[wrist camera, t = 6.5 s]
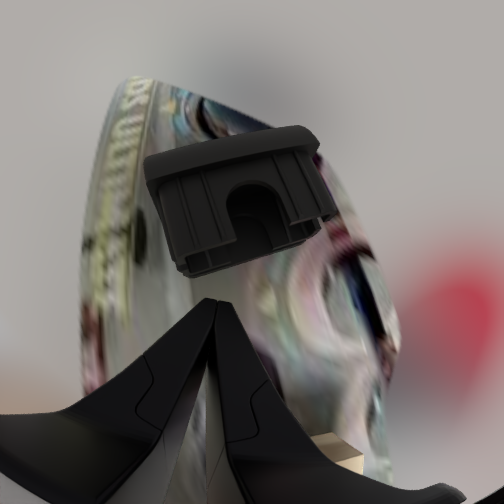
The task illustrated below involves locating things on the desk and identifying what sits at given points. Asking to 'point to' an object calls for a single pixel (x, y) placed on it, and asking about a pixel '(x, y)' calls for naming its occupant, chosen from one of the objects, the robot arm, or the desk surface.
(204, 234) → the end cap
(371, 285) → the desk surface
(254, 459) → the robot arm
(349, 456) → the beech block
